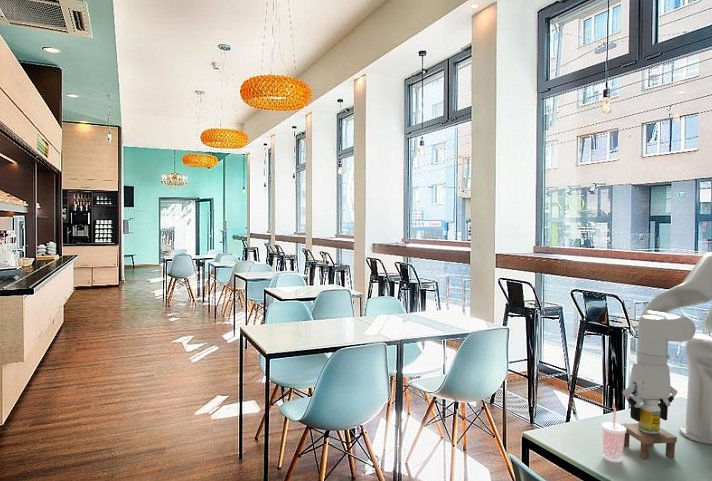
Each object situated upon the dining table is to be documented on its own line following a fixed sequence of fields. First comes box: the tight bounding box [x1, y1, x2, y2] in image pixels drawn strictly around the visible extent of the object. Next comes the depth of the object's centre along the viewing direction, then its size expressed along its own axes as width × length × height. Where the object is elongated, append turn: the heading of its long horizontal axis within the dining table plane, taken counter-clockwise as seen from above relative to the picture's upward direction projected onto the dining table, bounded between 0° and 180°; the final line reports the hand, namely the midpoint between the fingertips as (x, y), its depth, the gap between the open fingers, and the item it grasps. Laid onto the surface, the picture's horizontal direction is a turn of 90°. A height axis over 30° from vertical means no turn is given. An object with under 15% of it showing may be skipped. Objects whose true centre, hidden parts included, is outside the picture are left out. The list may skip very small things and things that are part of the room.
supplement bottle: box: [638, 399, 661, 434], centre depth 146 cm, size 5×5×10 cm
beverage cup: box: [601, 408, 626, 463], centre depth 141 cm, size 6×6×14 cm
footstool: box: [620, 422, 678, 460], centre depth 147 cm, size 10×10×6 cm
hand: (648, 418), depth 146 cm, fingers open, 8 cm apart
